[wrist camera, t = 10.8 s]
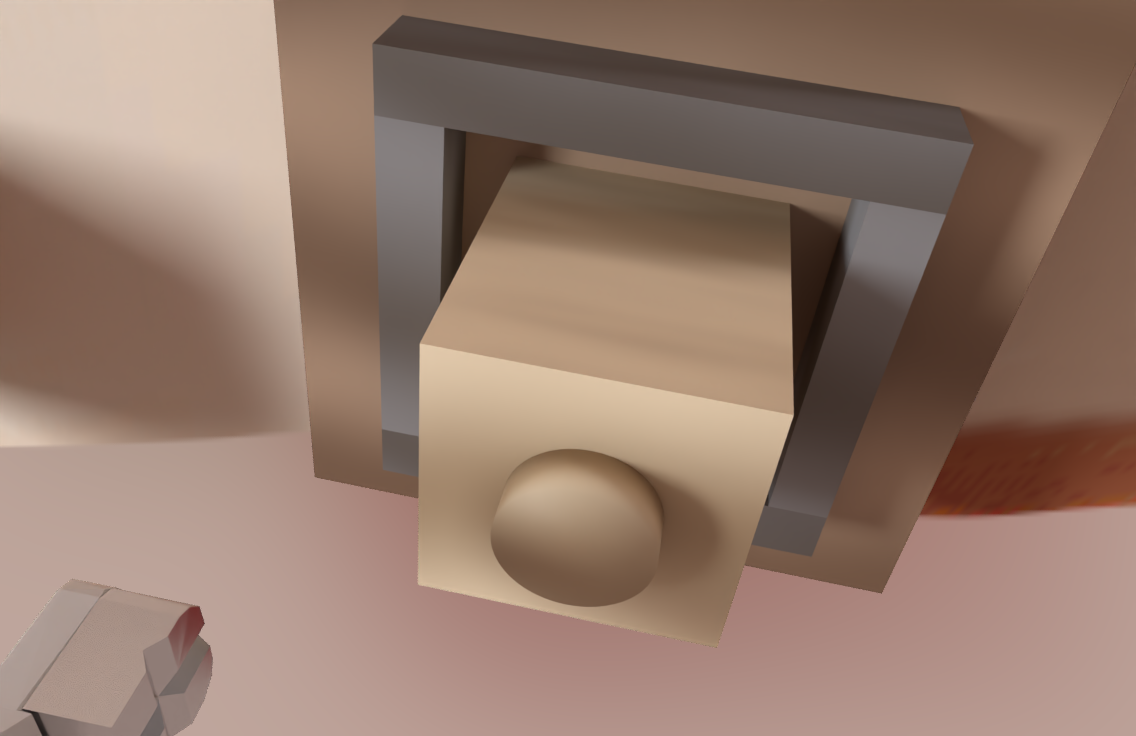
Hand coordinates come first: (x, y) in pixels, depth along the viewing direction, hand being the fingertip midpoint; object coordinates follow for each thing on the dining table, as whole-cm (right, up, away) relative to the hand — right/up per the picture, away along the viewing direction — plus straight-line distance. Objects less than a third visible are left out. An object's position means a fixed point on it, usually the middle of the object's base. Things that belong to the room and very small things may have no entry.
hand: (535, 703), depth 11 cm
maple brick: (+2, +5, +8) cm, 10 cm away
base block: (+2, +8, +11) cm, 14 cm away
